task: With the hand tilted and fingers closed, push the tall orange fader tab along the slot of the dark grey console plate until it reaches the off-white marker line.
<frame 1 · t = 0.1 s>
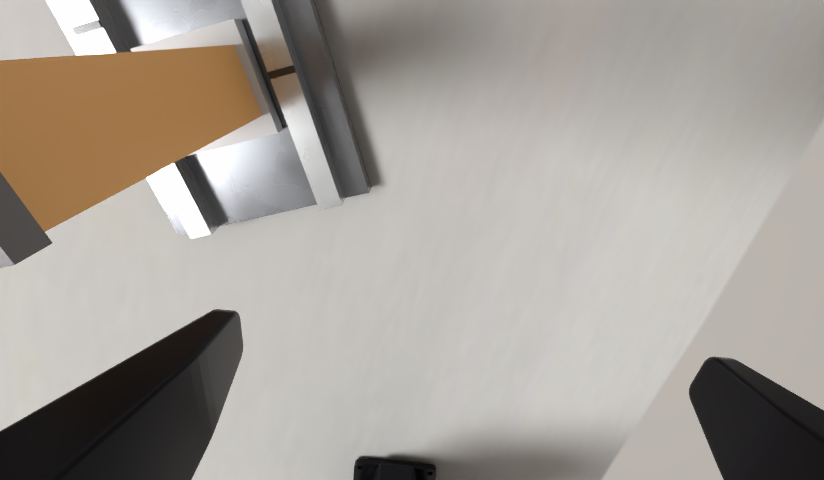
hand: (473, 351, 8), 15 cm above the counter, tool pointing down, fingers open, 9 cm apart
console plate: (188, 6, 18), on the counter
fader tab: (115, 119, 13), point 8 cm above the counter, slide at 0.0 cm
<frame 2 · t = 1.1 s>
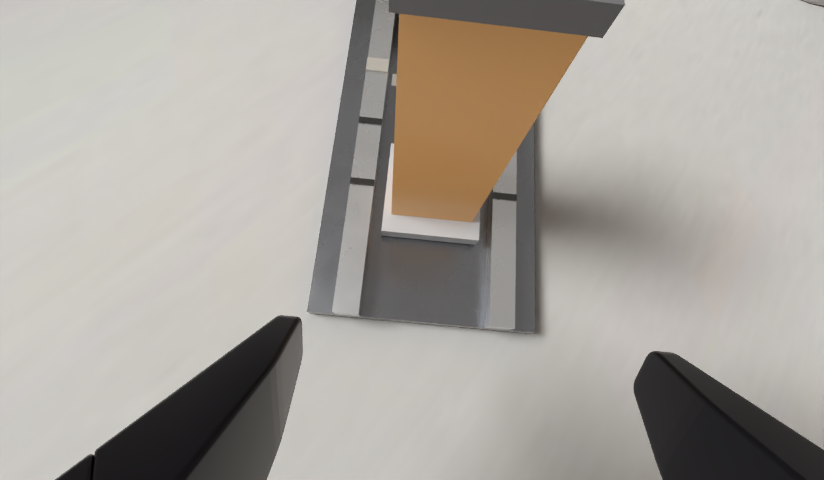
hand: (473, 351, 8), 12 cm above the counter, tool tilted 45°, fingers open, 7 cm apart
console plate: (434, 145, 23), on the counter
fader tab: (453, 122, 15), point 8 cm above the counter, slide at 0.0 cm
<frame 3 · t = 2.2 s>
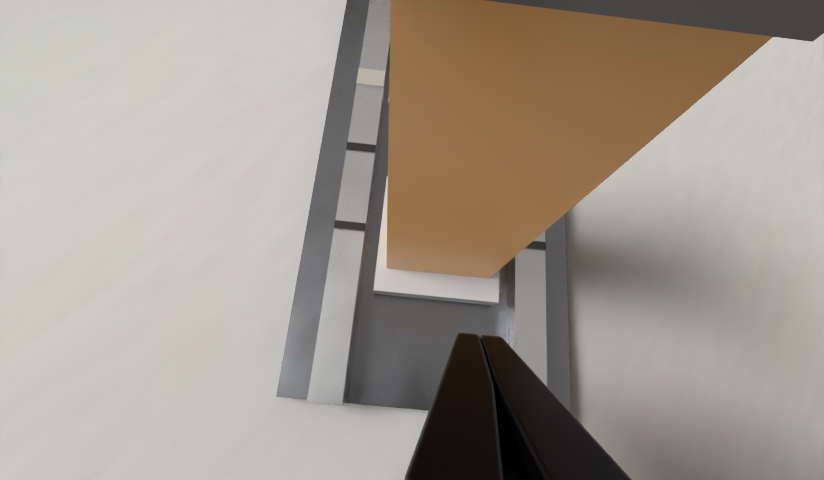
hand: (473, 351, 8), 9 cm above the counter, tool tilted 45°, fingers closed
console plate: (440, 176, 19), on the counter
fader tab: (472, 162, 10), point 8 cm above the counter, slide at 0.0 cm
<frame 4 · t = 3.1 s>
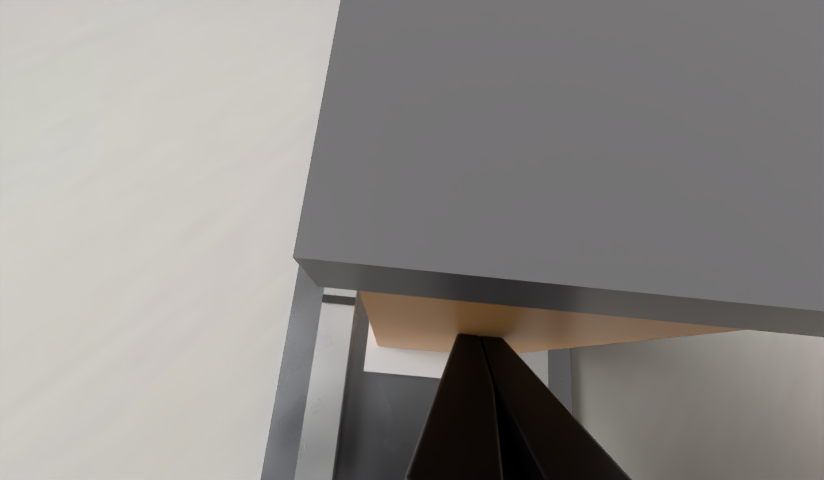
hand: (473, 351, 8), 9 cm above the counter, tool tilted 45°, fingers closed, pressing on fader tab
console plate: (436, 235, 18), on the counter
fader tab: (467, 273, 9), point 8 cm above the counter, slide at 0.0 cm, touching gripper
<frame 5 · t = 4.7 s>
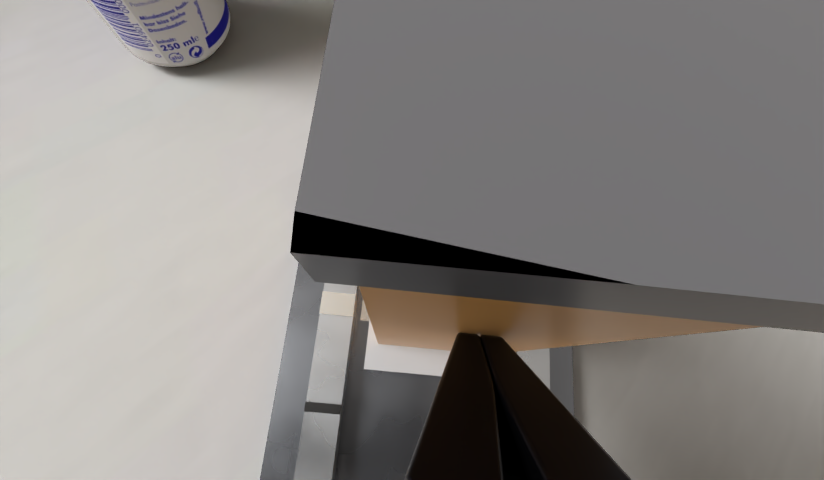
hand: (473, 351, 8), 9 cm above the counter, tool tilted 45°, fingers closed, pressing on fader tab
console plate: (424, 411, 15), on the counter
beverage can: (185, 37, 20), on the counter
fader tab: (469, 270, 9), point 8 cm above the counter, slide at 7.3 cm, touching gripper
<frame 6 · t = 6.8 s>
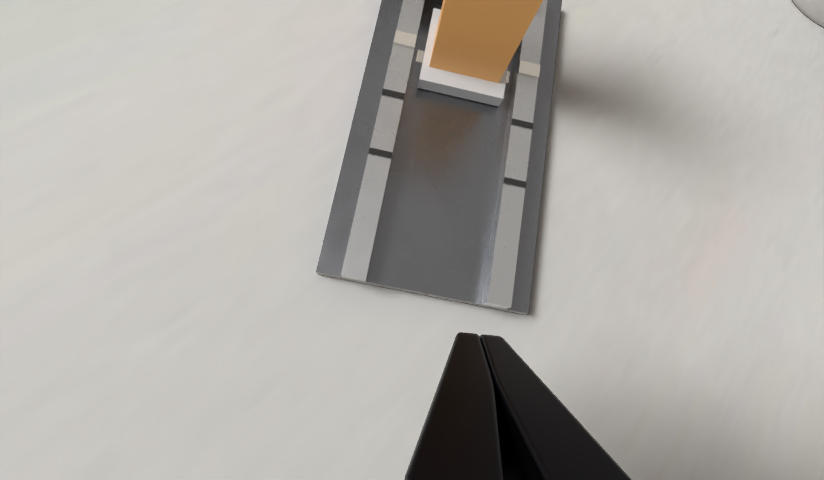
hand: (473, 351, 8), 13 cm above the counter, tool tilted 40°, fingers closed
console plate: (451, 126, 24), on the counter
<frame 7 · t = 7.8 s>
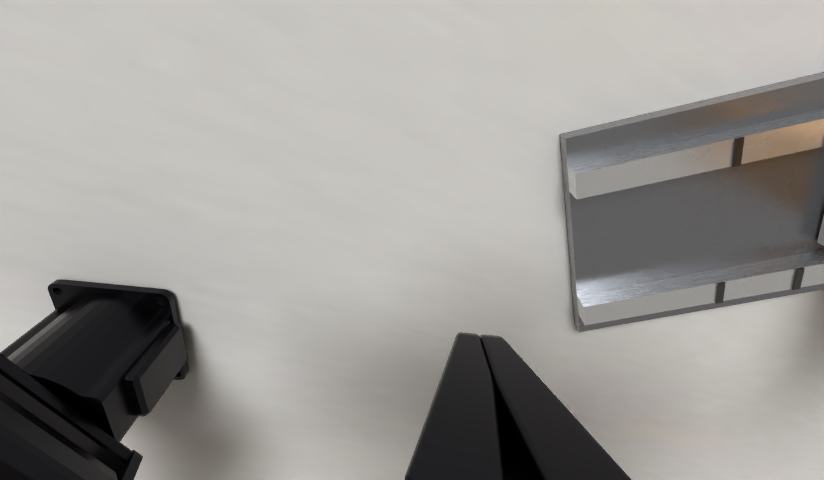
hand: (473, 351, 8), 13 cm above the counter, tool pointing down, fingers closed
console plate: (780, 196, 19), on the counter
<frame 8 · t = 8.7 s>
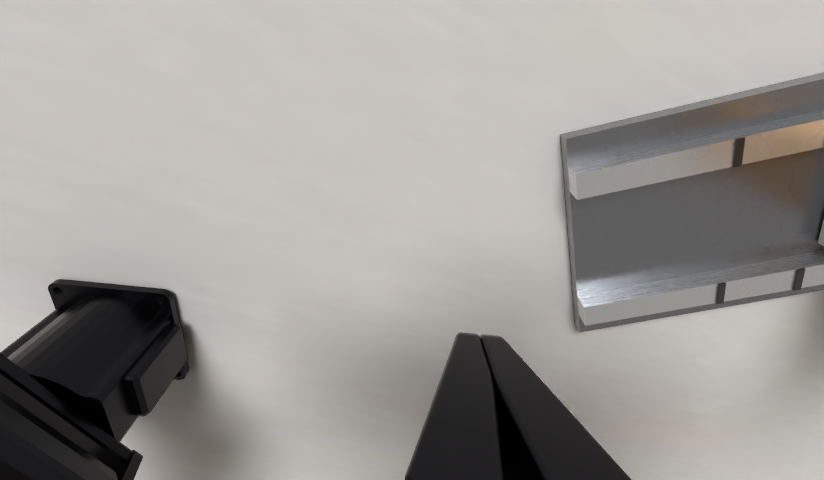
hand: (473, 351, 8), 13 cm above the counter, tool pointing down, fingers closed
console plate: (780, 196, 19), on the counter
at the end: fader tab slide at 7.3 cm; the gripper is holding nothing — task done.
